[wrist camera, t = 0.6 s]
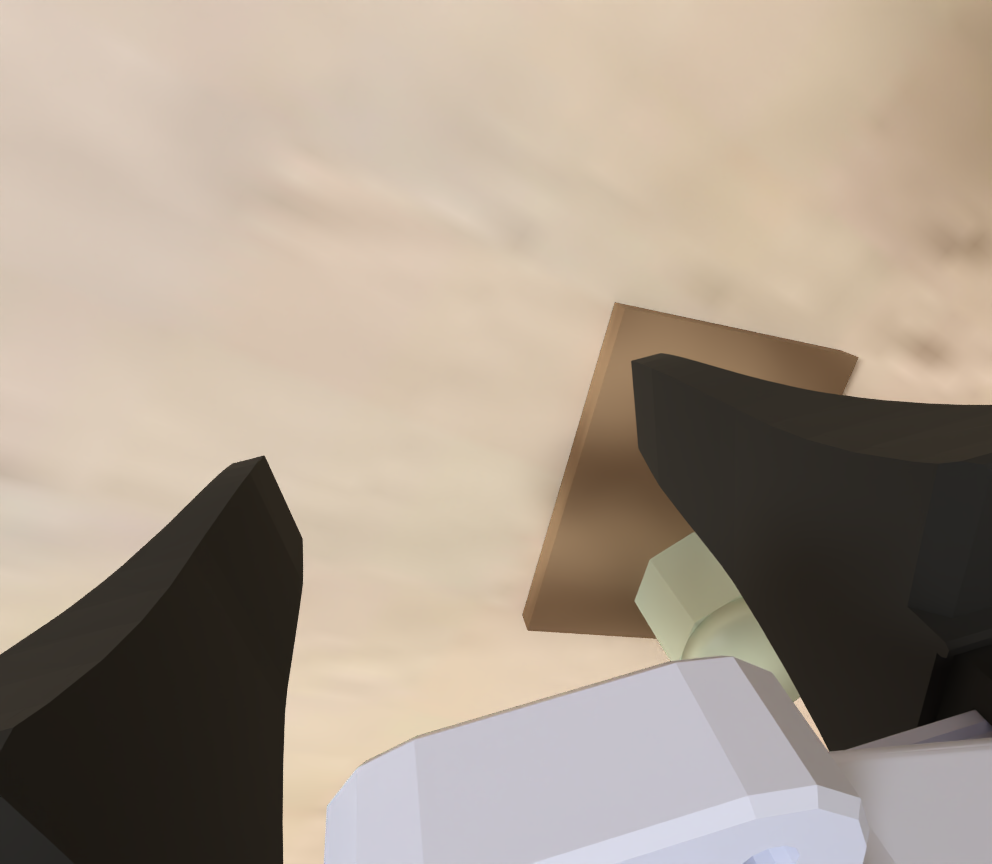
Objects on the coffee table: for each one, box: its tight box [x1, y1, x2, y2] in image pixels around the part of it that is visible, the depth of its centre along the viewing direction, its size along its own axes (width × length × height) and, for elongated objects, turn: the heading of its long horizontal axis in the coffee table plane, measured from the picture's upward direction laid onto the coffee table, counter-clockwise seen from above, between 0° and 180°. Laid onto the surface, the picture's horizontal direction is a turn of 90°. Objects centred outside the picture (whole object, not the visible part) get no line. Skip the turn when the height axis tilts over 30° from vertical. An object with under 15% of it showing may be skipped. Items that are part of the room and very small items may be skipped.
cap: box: [635, 532, 800, 702], centre depth 25 cm, size 5×5×5 cm
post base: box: [523, 303, 858, 639], centre depth 24 cm, size 14×10×4 cm
